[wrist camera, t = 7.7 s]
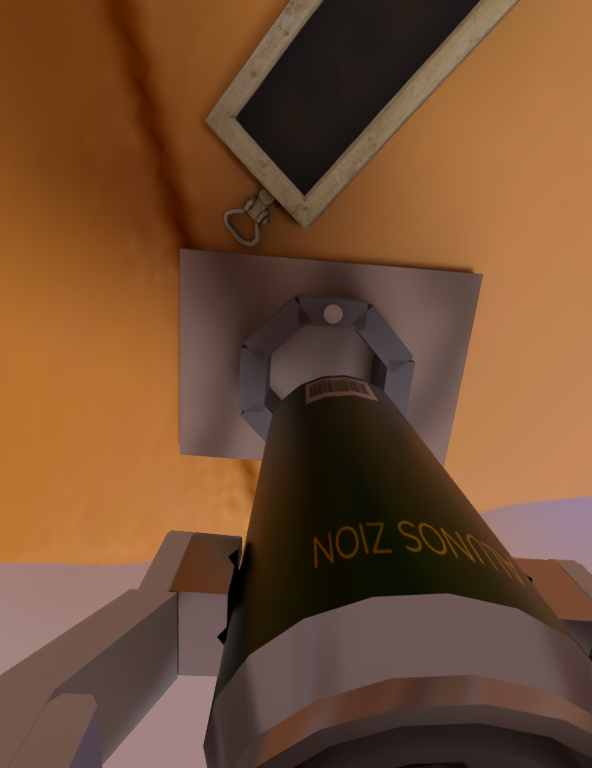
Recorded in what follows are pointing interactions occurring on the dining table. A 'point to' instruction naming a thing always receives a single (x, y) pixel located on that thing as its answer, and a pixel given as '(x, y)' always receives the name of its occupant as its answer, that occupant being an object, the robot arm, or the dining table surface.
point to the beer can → (385, 612)
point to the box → (338, 92)
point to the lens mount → (314, 342)
